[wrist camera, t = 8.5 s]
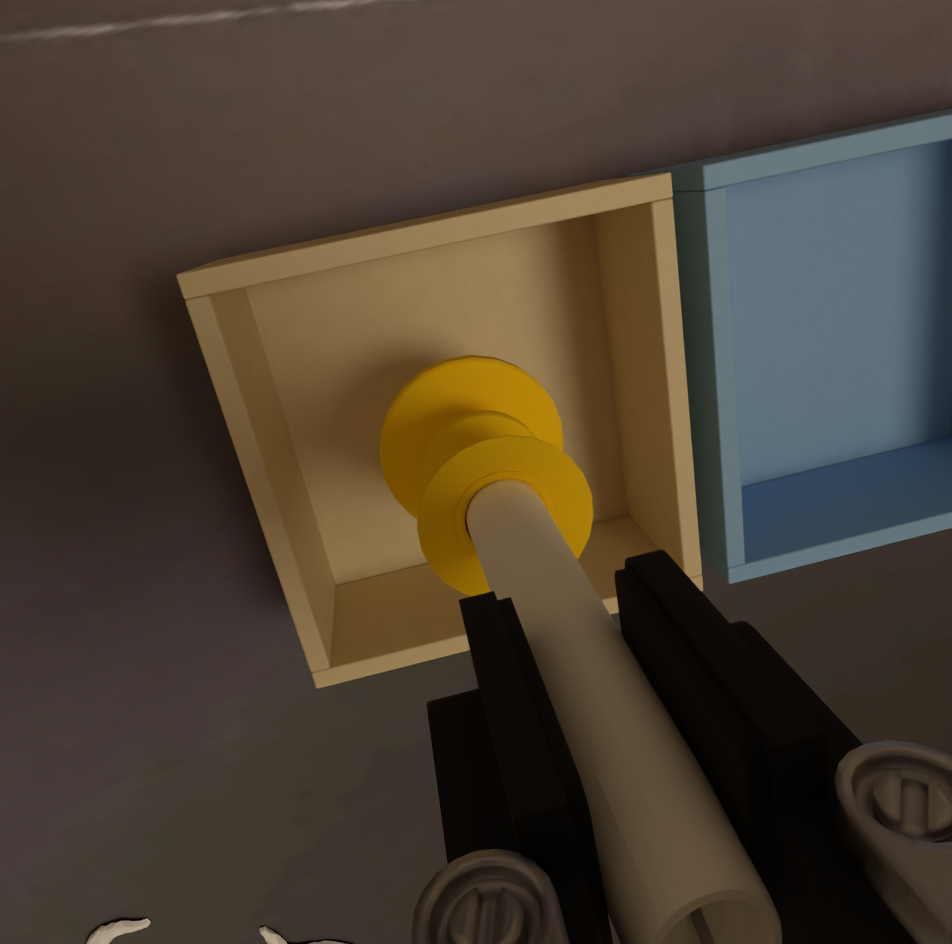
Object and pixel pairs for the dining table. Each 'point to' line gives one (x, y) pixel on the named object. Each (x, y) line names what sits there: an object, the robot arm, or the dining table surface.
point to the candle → (571, 644)
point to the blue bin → (818, 342)
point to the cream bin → (424, 344)
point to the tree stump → (105, 934)
